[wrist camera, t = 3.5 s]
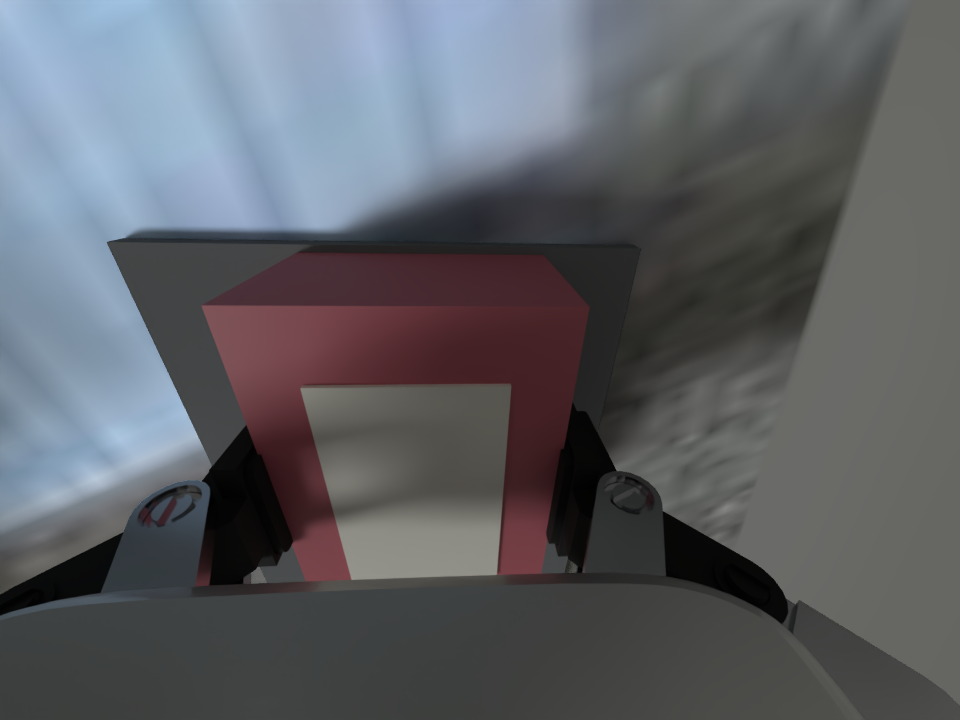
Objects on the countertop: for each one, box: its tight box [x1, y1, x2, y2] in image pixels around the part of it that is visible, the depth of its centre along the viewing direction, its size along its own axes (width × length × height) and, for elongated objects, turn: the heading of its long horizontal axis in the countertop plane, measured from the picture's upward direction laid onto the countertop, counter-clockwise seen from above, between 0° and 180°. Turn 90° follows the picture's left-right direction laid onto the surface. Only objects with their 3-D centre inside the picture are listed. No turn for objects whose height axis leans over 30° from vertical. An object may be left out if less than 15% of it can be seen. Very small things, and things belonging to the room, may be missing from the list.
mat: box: [107, 238, 641, 583], centre depth 15 cm, size 22×14×1 cm, turn 179°
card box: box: [201, 252, 590, 582], centre depth 10 cm, size 10×7×4 cm
